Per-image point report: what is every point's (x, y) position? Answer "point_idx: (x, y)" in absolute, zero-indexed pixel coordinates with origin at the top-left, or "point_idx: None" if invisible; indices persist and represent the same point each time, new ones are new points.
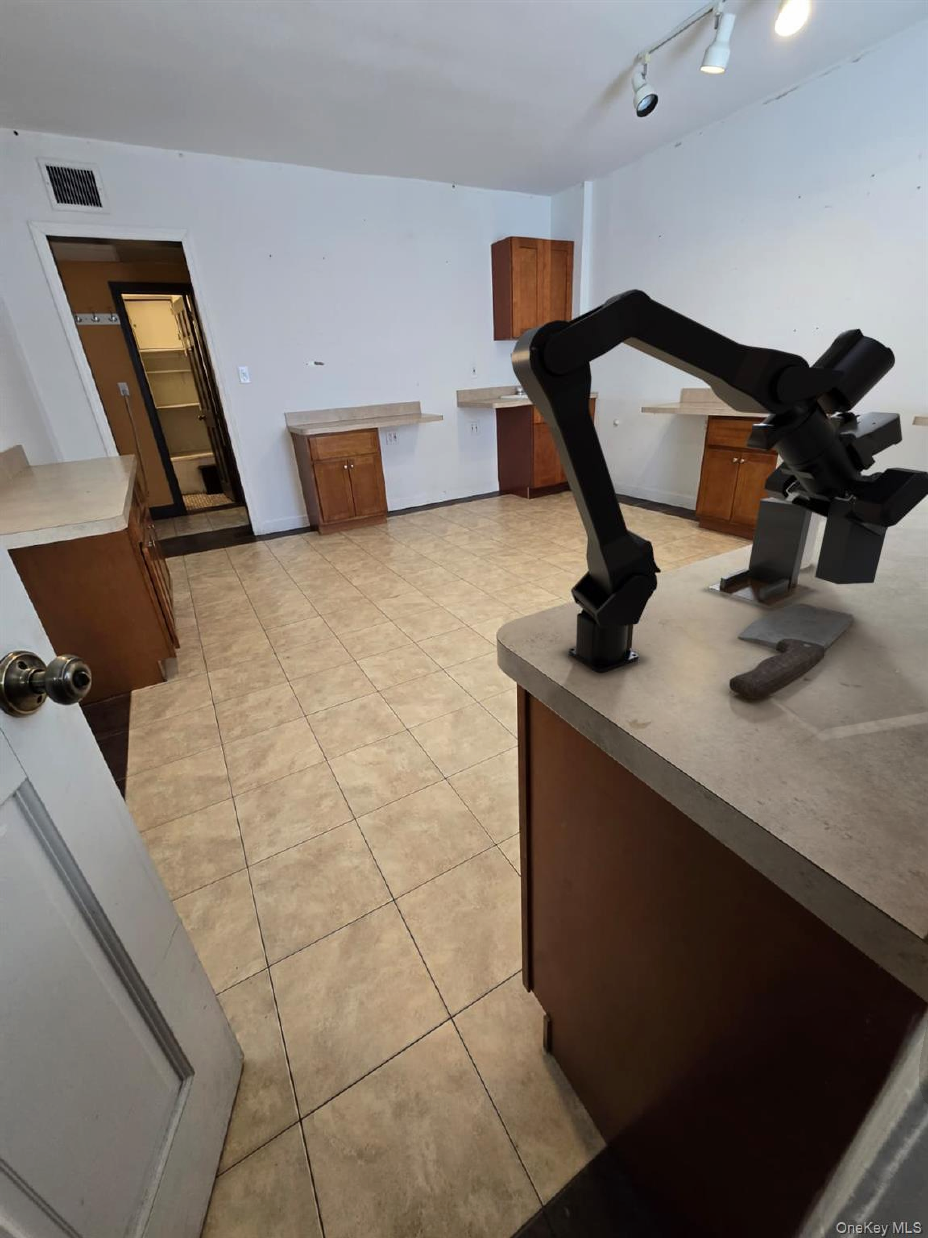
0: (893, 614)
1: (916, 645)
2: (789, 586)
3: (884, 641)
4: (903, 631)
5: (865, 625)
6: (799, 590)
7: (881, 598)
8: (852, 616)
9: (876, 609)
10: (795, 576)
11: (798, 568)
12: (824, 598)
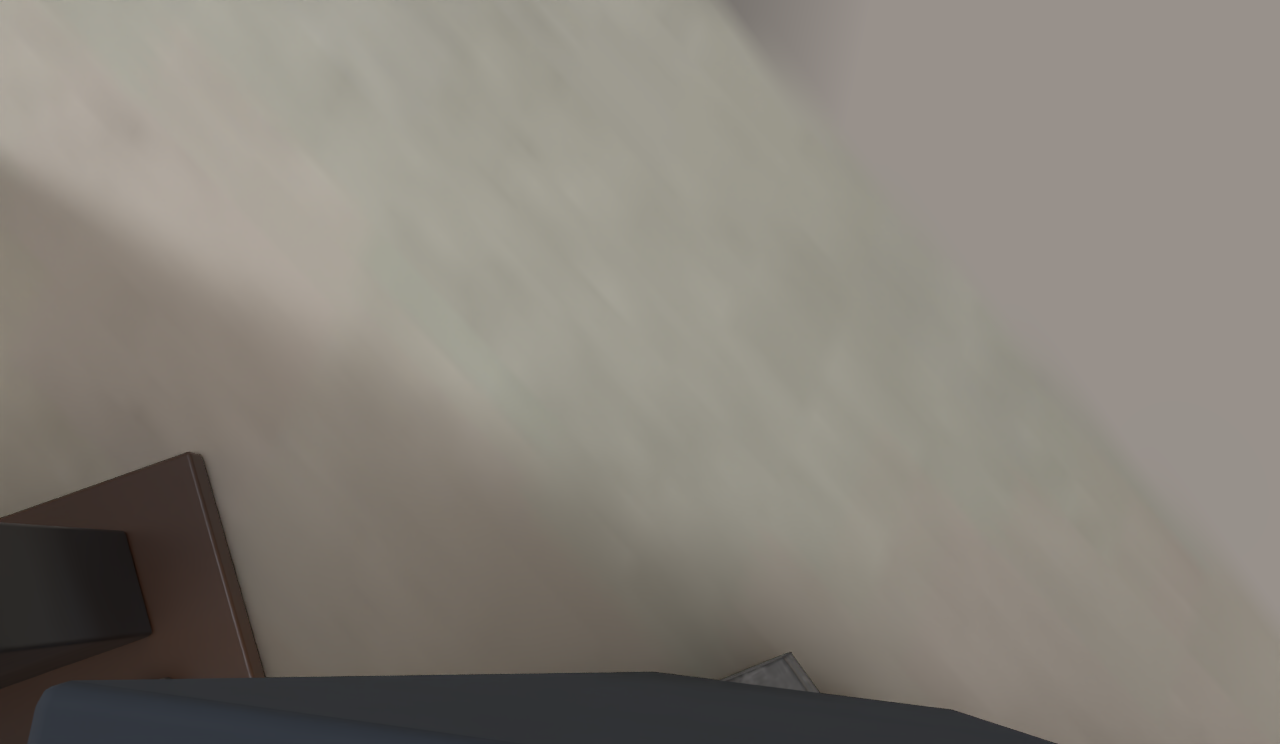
0: (774, 274)
1: (1215, 571)
2: (138, 637)
3: (1107, 711)
4: (1017, 457)
5: (859, 606)
6: (209, 583)
7: (525, 106)
8: (798, 673)
9: (666, 303)
10: (88, 581)
11: (45, 561)
12: (366, 468)
